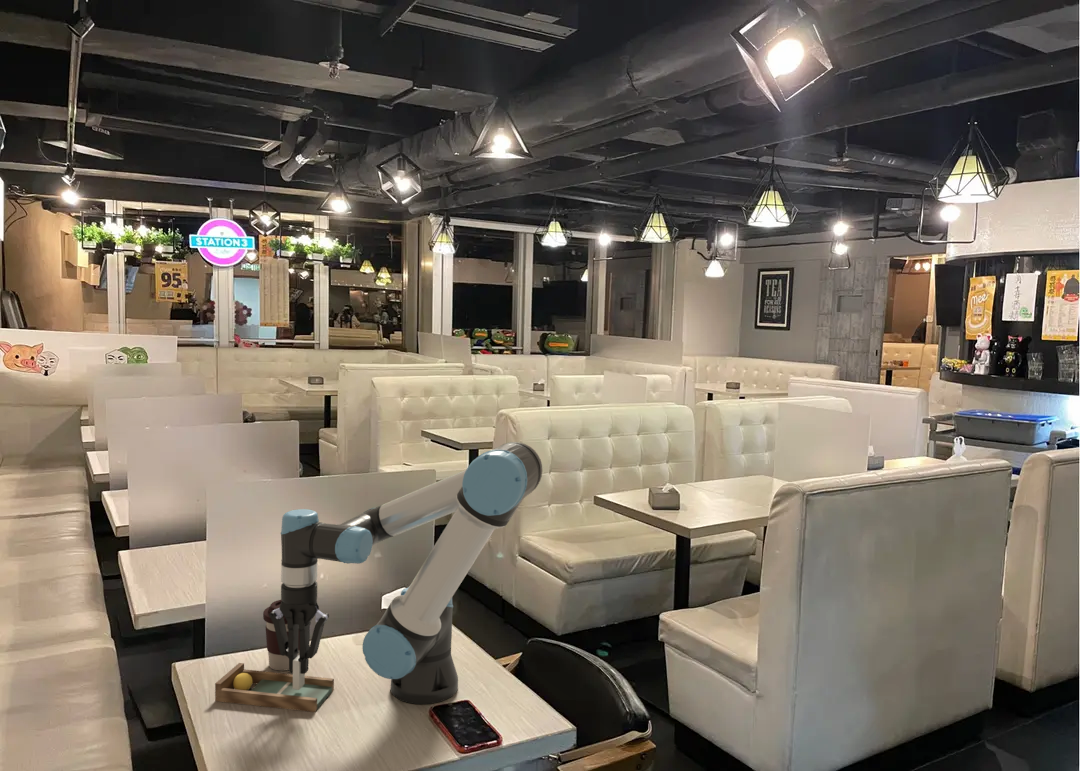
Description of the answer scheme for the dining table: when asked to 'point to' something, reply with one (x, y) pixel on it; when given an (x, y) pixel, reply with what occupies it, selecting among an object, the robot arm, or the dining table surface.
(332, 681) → the tray
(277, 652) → the coffee cup
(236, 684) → the ball
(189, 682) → the dining table surface
